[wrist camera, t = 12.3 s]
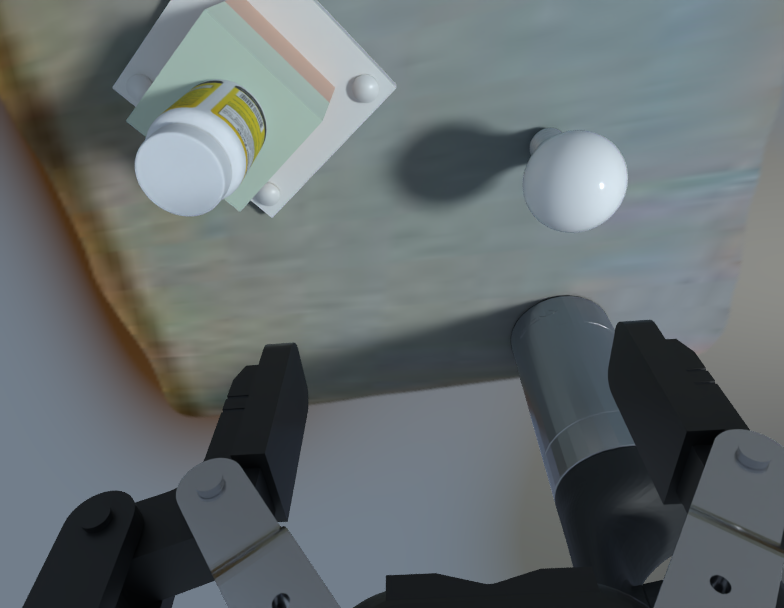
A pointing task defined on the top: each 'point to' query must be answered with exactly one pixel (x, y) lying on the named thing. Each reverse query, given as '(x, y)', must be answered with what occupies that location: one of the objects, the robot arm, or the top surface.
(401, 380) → the top surface
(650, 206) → the top surface
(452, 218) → the top surface
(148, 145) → the supplement bottle
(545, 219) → the lightbulb
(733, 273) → the top surface
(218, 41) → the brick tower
